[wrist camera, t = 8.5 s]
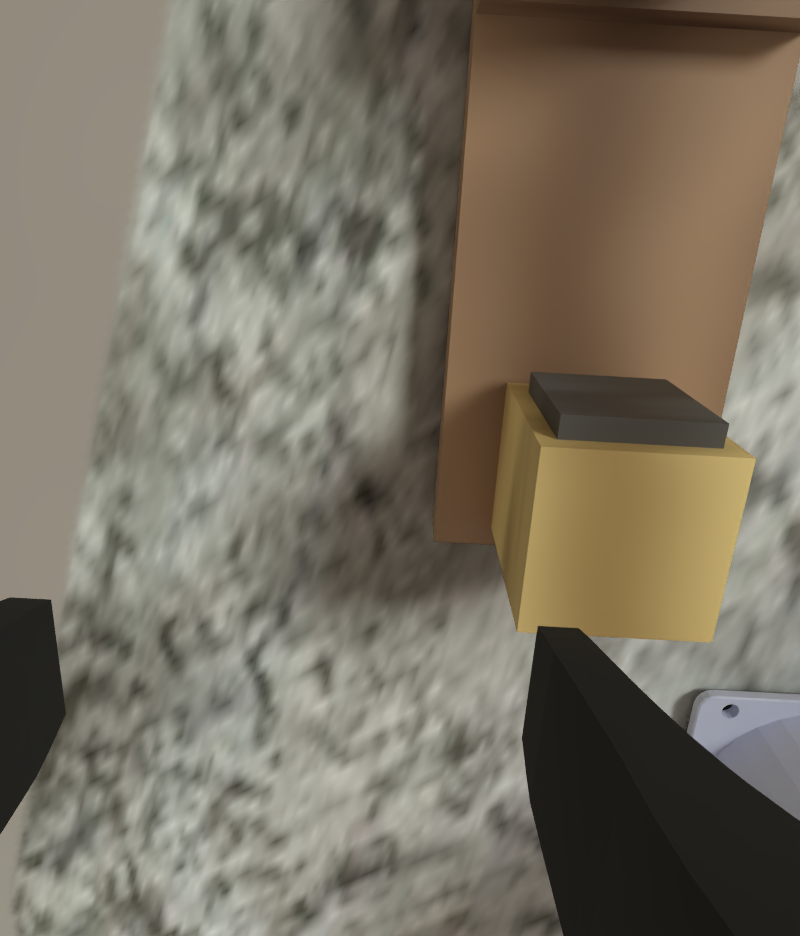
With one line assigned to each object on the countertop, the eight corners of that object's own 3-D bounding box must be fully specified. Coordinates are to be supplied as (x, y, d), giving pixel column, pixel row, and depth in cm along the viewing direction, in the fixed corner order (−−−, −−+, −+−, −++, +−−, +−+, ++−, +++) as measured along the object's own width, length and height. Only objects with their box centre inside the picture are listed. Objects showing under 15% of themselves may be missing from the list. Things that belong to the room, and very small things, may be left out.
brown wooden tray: (871, -409, 14) (1203, -844, 8) (676, 536, 21) (779, 667, 15) (506, -433, 14) (577, -889, 8) (432, 522, 21) (442, 648, 15)
